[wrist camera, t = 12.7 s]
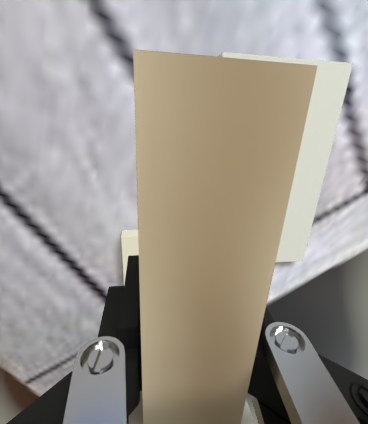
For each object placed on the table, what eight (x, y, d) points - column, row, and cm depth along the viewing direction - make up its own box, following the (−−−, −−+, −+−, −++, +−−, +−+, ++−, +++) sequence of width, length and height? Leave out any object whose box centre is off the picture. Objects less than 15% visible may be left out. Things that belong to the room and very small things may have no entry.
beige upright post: (109, 388, 13) (89, 531, 9) (78, 81, 8) (-17, 35, 3) (231, 374, 14) (270, 496, 10) (279, 95, 9) (420, 74, 4)
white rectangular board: (202, 259, 33) (205, 265, 32) (218, 55, 25) (222, 52, 23) (296, 255, 35) (302, 261, 34) (342, 65, 27) (352, 63, 25)
